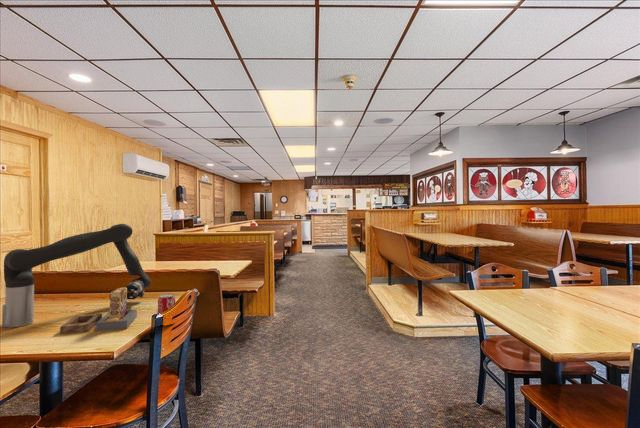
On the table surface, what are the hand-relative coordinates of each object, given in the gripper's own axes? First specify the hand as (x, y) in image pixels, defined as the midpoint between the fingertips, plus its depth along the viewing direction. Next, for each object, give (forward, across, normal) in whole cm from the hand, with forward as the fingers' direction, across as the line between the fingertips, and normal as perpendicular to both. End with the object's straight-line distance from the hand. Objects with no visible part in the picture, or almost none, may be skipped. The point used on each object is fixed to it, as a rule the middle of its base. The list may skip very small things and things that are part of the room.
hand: (123, 298), depth 146 cm
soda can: (+14, +21, +10) cm, 27 cm away
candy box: (+7, 0, +10) cm, 12 cm away
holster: (+8, -14, +10) cm, 18 cm away
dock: (+8, 0, +10) cm, 12 cm away
